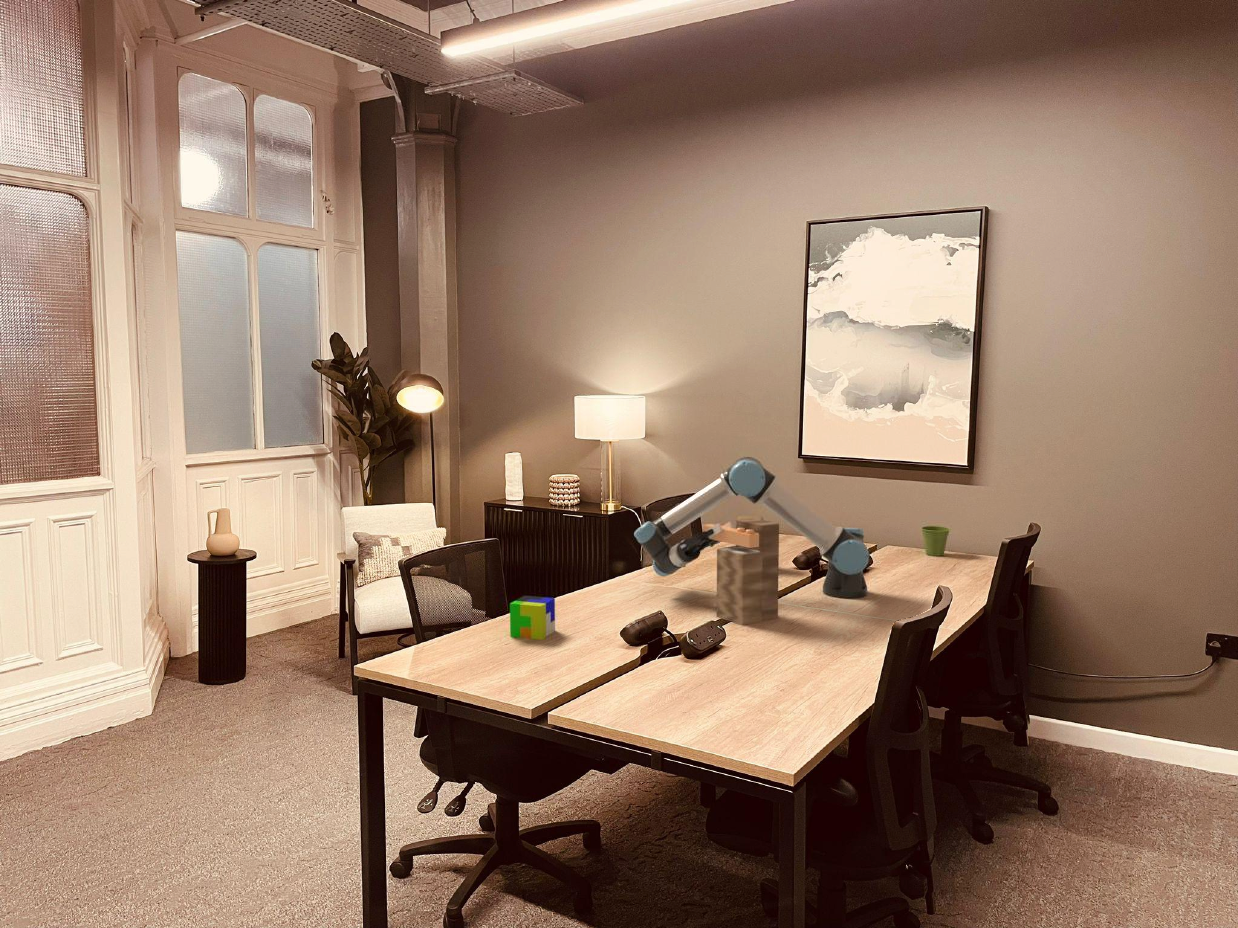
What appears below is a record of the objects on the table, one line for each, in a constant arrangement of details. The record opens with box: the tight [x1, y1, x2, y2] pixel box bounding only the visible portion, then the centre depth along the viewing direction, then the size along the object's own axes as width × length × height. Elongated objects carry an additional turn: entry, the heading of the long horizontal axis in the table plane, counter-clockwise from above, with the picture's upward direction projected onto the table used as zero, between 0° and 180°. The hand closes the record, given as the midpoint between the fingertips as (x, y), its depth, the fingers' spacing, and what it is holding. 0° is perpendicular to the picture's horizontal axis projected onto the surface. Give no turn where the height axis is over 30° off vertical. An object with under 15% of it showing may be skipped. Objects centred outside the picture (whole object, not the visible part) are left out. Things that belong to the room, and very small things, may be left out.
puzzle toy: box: [509, 595, 556, 641], centre depth 275 cm, size 10×10×10 cm
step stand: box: [716, 518, 780, 626], centre depth 291 cm, size 12×15×30 cm
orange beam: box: [702, 523, 759, 548], centre depth 291 cm, size 22×4×5 cm, turn 35°
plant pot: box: [920, 525, 951, 557], centre depth 387 cm, size 12×12×11 cm
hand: (725, 526), depth 292 cm, fingers closed on orange beam, 4 cm apart
